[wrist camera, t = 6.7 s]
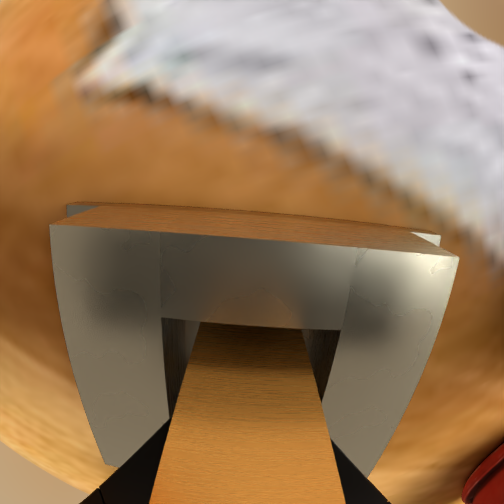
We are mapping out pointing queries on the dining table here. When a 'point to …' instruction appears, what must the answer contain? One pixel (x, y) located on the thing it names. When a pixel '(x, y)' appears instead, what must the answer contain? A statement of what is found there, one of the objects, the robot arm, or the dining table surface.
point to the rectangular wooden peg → (248, 424)
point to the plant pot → (486, 481)
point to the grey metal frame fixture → (244, 310)
